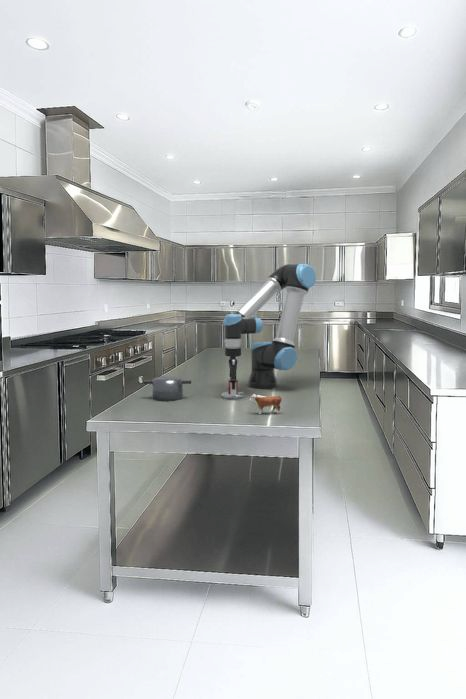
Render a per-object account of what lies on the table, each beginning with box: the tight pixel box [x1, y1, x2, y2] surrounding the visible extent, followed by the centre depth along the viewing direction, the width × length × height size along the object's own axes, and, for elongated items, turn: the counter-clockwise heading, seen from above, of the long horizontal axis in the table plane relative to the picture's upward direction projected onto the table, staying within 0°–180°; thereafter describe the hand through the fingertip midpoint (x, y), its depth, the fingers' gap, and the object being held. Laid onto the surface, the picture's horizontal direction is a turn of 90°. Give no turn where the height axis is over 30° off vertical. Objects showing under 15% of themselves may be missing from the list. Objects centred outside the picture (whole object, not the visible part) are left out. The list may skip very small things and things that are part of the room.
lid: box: [220, 379, 246, 400], centre depth 261 cm, size 11×11×8 cm
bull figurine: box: [248, 393, 282, 416], centre depth 228 cm, size 4×13×8 cm, turn 95°
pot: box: [142, 375, 192, 402], centre depth 257 cm, size 22×14×9 cm, turn 92°
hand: (232, 393), depth 261 cm, fingers closed on lid, 11 cm apart
